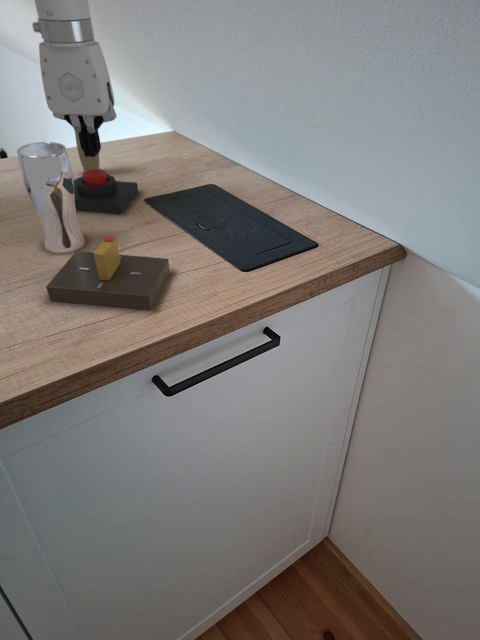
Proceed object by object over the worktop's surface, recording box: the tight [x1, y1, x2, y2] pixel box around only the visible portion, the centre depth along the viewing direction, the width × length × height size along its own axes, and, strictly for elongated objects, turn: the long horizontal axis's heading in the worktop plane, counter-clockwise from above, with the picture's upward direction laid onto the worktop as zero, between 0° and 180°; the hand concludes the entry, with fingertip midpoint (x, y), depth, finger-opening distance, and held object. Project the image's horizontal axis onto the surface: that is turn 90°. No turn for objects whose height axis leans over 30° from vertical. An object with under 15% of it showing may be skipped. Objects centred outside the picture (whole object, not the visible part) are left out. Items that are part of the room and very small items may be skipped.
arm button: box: [82, 169, 107, 186], centre depth 89 cm, size 4×4×2 cm
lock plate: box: [45, 250, 171, 312], centre depth 69 cm, size 14×10×3 cm
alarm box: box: [74, 173, 139, 215], centre depth 91 cm, size 12×10×4 cm
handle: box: [74, 116, 101, 173], centre depth 98 cm, size 5×6×15 cm
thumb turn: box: [94, 236, 120, 280], centre depth 67 cm, size 5×1×4 cm, turn 173°
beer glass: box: [16, 141, 86, 254], centre depth 74 cm, size 7×7×15 cm
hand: (92, 154), depth 87 cm, fingers closed
